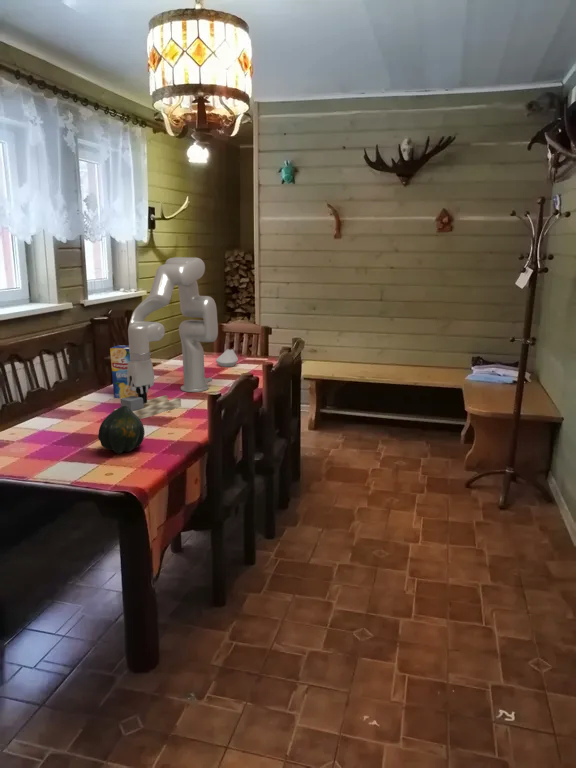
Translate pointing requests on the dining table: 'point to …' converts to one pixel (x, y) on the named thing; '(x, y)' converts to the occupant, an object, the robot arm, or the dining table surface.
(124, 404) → the slate block
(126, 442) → the squash
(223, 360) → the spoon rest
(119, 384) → the beverage box
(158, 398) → the birch chute
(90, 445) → the dining table surface
